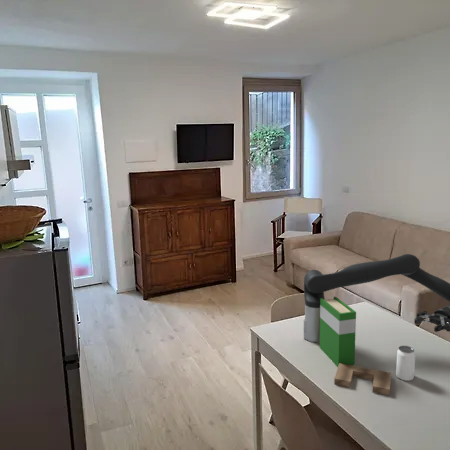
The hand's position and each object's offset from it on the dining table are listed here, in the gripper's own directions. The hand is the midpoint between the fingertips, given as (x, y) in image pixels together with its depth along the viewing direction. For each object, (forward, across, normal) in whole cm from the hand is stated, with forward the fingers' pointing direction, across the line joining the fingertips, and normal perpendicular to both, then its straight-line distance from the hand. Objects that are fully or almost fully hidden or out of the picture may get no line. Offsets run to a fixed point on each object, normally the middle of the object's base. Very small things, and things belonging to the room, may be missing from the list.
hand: (425, 325), depth 164 cm
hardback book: (+22, -27, +19) cm, 39 cm away
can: (+11, 0, +19) cm, 22 cm away
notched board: (+27, -7, +19) cm, 34 cm away
